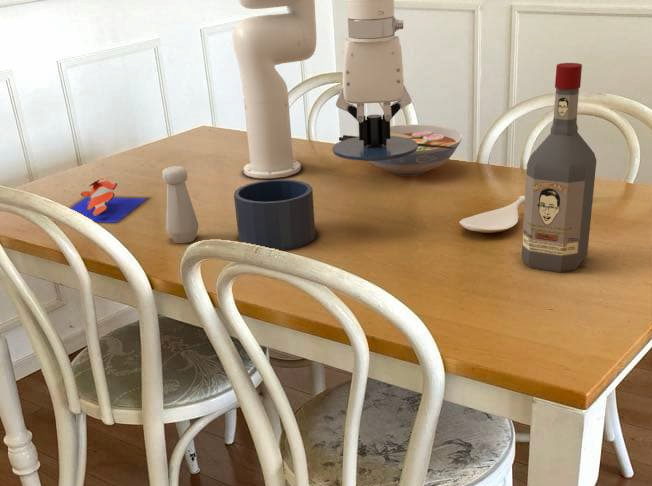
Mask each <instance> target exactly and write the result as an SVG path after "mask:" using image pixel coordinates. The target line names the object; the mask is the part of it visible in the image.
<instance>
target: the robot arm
mask: <svg viewBox="0 0 652 486" xmlns="http://www.w3.org/2000/svg"><path fill="white" fill-rule="evenodd" d="M237 1H238V2H239V4H240V5H241V6H242V7H243V8H245V9H249V10H263V9H272V8H273V9H274V8H281V7H283V8H284V7H286V11H287V12H285V13H275V14H266V15H256V16H250V17H246V18H245V19H242V20H240V21H239V22H238V23H237V24H236V25H235V27H234V28H233V32H232V44H233V45H232V46H233V50H234V53H235V57H236V61H237V65H238V69H239V74H240V80H241V88H242V89H241V90H242V98H243V105H244V117H245V127H246V137H247V145H248V155H249V156H248V157H249V163H247V164H246V165H244V167H243V174H244V175H245V176H247V177H249V178H253V179H263V180H264V179H265V180H272V179H281V178H286V177H290V176H293V175H296V174H297V173H300V171H301V169H302V168H301V167H302V166H301V165H302V164H301V163H300V162H299V161H298V160H295V159H294V155H293V141H292V131H291V130H292V129H291V128H292V127H291V115H290V102H289V90H288V85H287V83H286V81H285V79H284V78H283V77H282V75H281V74H280V73H279V72H278V70H277V69H276V68H275V66H278V65H282V64H290V63H297V62H303V61H306V60H308V59H310V58H312V57H313V56H314V55H315V52H316V48H317V19H316V1H315V0H237ZM346 3H347V4H346V7H347V29H348V37H346V38H344V40H343V46H342V47H343V49H342V86H341V89H340V92H339V94H338V95H337V99H336V101H335V107H336V108H338V109H340V110H342V111H345V112H348V114H350V115H351V116H352V117H353V118H354V120H356V121H357V122H358V136H359V140H363V143H364V146H367V145H368V138H367V116H366V115H365V104H379V103H382V105H383V107H382V108H383V114H382V145H387V139H390V126H391V121H392V119H393V118H394V116H396V115H397V113H399V111H400V110H402V109H404V108H406V107H408V106H409V105H410V104H411V103H412V97H411V96H410V93H409V91H408V89H407V88H406V86H405V84H404V83H405V82H404V81H405V80H404V67H403V66H404V65H403V55H402V46H401V41H400V37H399V36H398V35H396V32H397V31H399V30H404V20H403V19H401V20H400V19H397V18H396V17H395V0H346ZM354 104H356V106H355V105H354Z"/></svg>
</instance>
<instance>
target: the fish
mask: <svg viewBox="0 0 652 486" xmlns="http://www.w3.org/2000/svg"><path fill="white" fill-rule="evenodd" d="M117 186H118V182H115V183H113V182H111V181H110V180H108V179H106V178H104V177H101V178H100V179H97V180H95V181H94V182H92V183H90V184H89V185H88V187H91V190H88V191H86V190H85V191H82V192H80V196H81V197H83V198H87V197H90V198H89V200H88V202H87V203H86V204H87V206H86V210H87V211H92V210H93V212H92V216H93V217H98V216H100V215H102V214H104V213H106V212H107V211H108V206H107V205H106V203H109V202H111V201H112V200H113V199H114V198H115V192H114V190H115V189H116V187H117Z"/></svg>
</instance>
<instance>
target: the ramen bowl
mask: <svg viewBox="0 0 652 486" xmlns="http://www.w3.org/2000/svg"><path fill="white" fill-rule="evenodd" d="M390 136H399V137H405V138H409V139H412V140H414V141H416V142H417V144H418V149H417V150H416V151H415V152H414V153H412V154H410V155H407V156H404V157H400V158H395V159H389V160H381V161H368V162H369V163H370V164H372V165H374V166H375V167H376V168H378V169H381V170H383V171H387V172H390V173H392V174H393V175H396V176H401V177H414V176H419V175H420V176H421V175H423V174H425V173H427V172H428V171H431V170H433V169H435V168H438V167H440V166H442V165H444V164H445V163H447V161H449V159H450V158H451V157H452V156H453V154H454V153H455V151H456V150H457V148H458V147H459V146H460V144H461V141H462V140H463V137H464V135H463V134H462V132H460V130H456V129H454V128H451V127H448V126H440V125H434V124H433V125H432V124H399V125H390ZM356 137H359V135H357V136H355V135H348V134H343V135H342V136H340V137H338V142H340V141H343V140H347V139H351V138H356Z"/></svg>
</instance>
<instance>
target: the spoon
mask: <svg viewBox="0 0 652 486" xmlns="http://www.w3.org/2000/svg"><path fill="white" fill-rule="evenodd" d="M522 205H525V195H519V196H518V197H517V200H516V201H514V202H512V203H511V204H508V205H507V206H504V207H500V208H497V209H493V210H489V211H484V212H481V213H478V214H475V215H472V216H468V217H465V218H462V219H461V220H459V224H460V226H461V227H463V228H464V229H467V230H468V231H470V232H471V231H472V232H476V233H477V232H478V233H487V234H492V233H500V232H504V231H507V230H510V229H512V228H513V227H514V226H516V224H517V223H518V222H519V211H518V210H519V208H520V206H522Z"/></svg>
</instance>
